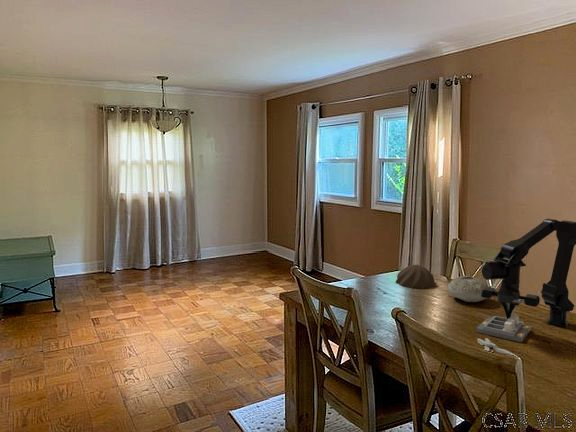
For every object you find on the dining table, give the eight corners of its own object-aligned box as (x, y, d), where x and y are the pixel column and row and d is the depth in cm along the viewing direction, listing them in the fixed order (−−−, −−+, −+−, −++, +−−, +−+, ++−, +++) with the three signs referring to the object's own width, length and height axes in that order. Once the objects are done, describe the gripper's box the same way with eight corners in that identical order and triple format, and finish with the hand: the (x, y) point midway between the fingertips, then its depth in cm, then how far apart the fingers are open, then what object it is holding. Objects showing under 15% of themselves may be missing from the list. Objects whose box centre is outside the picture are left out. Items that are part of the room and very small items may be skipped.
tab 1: (504, 330, 157) (504, 320, 156) (513, 332, 155) (514, 322, 154) (502, 332, 154) (502, 323, 154) (511, 334, 152) (511, 325, 152)
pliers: (490, 357, 136) (468, 338, 150) (490, 362, 136) (468, 343, 151) (521, 356, 136) (495, 337, 151) (521, 361, 136) (495, 341, 151)
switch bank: (487, 321, 170) (487, 314, 170) (530, 330, 160) (530, 323, 160) (475, 332, 159) (476, 325, 159) (521, 342, 149) (521, 335, 149)
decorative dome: (437, 281, 229) (438, 262, 227) (431, 290, 211) (431, 270, 210) (401, 277, 238) (401, 259, 236) (391, 286, 220) (391, 266, 219)
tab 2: (507, 326, 160) (508, 317, 160) (516, 328, 158) (517, 319, 158) (505, 328, 158) (505, 319, 157) (514, 330, 156) (515, 321, 155)
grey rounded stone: (499, 302, 192) (500, 280, 191) (470, 308, 185) (471, 285, 183) (466, 291, 208) (467, 271, 207) (438, 297, 201) (439, 276, 199)
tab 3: (510, 323, 163) (511, 314, 163) (519, 324, 161) (520, 315, 161) (508, 325, 161) (509, 316, 161) (517, 327, 159) (518, 318, 159)
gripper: (477, 278, 160) (475, 319, 162) (534, 287, 148) (531, 331, 150) (486, 272, 169) (484, 311, 171) (541, 280, 157) (538, 322, 159)
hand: (508, 318), depth 162 cm, fingers closed
